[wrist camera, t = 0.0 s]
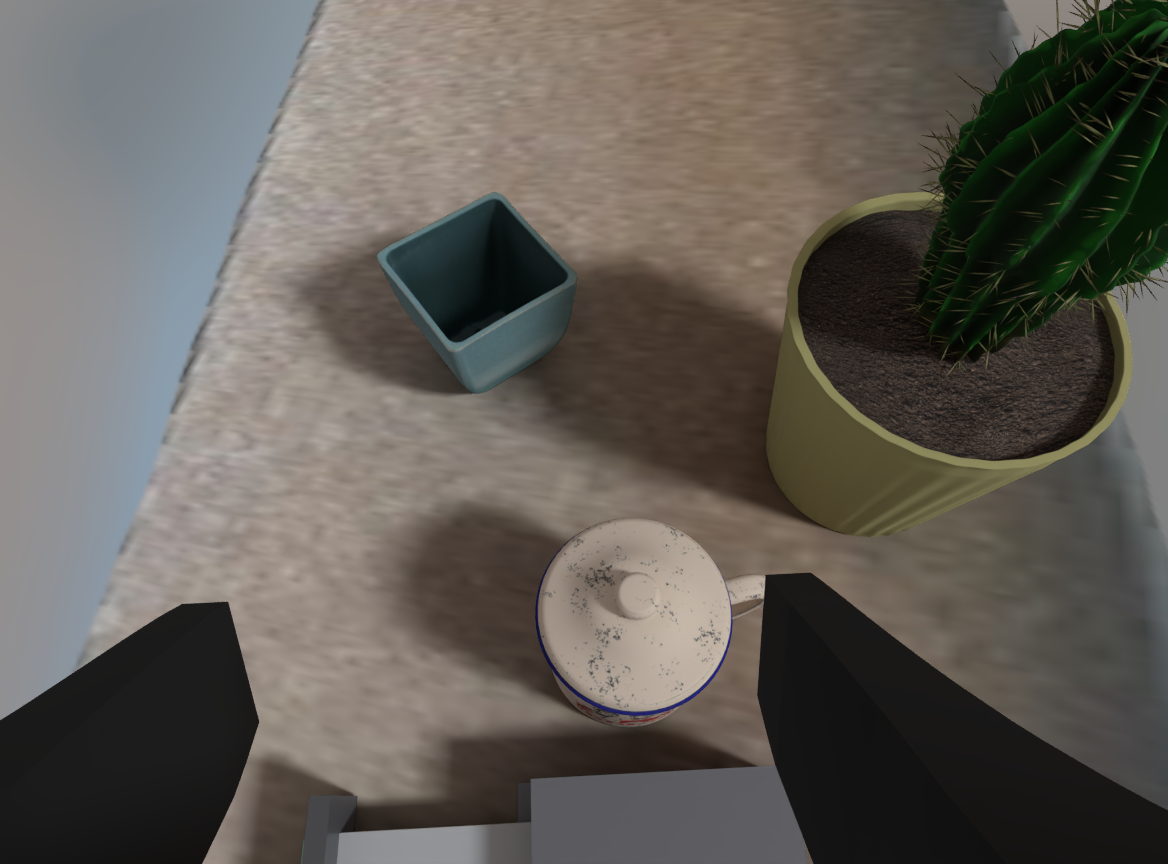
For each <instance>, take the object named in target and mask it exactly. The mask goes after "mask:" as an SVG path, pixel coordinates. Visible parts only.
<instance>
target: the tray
mask: <svg viewBox="0 0 1168 864" xmlns="http://www.w3.org/2000/svg"><path fill="white" fill-rule="evenodd" d="M356 805H357V796H341V795H322V796H309V801H308V810H307V820H306V829H305V838H304V840H303V847H302V856H301V864H532V831H531V822H521V823H503V824H484V825H466V826H448V827H430V828H412V829H394V830H376V831H358V832H354V830H355V817H356Z"/></svg>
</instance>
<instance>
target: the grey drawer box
mask: <svg viewBox="0 0 1168 864" xmlns="http://www.w3.org/2000/svg"><path fill="white" fill-rule="evenodd" d="M521 822H531V831H532V864H807V860H806V854H805V848H804V842H803V836H802V833H801V831H800V828H799V825H798V823H797V820H796V818H795V815H794V813H793V810H792V807H791V805H790V802H789V800H788V797H787V795H786V792H785V789H784V787H783V784H782V782H781V779H780V776H779V774H778V771H777V768H776V766H759V767H741V768H722V769H704V770H685V771H667V772H648V773H630V774H611V775H593V776H574V777H556V778H538V779H531V782H527V783H518V823H521Z"/></svg>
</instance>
